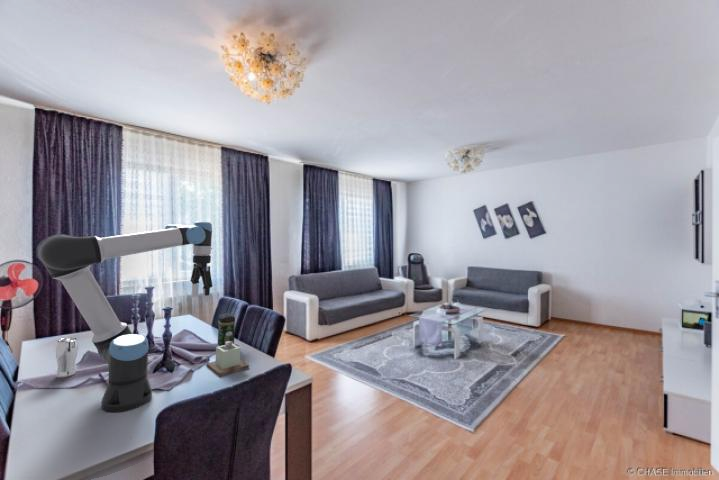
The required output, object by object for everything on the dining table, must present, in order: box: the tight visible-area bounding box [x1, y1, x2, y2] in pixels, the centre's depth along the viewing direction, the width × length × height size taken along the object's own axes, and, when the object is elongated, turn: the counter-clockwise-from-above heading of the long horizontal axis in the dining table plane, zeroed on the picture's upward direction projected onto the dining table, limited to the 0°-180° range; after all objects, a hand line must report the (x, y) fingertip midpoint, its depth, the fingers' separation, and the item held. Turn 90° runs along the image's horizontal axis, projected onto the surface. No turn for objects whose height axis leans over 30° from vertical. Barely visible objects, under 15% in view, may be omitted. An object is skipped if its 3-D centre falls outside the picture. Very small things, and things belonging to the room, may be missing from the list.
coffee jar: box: [217, 312, 236, 346], centre depth 174 cm, size 10×8×19 cm
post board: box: [206, 341, 250, 378], centre depth 150 cm, size 14×14×12 cm
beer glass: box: [55, 336, 79, 379], centre depth 135 cm, size 7×7×15 cm
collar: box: [215, 343, 241, 369], centre depth 150 cm, size 8×8×8 cm
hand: (200, 299), depth 149 cm, fingers open, 13 cm apart
